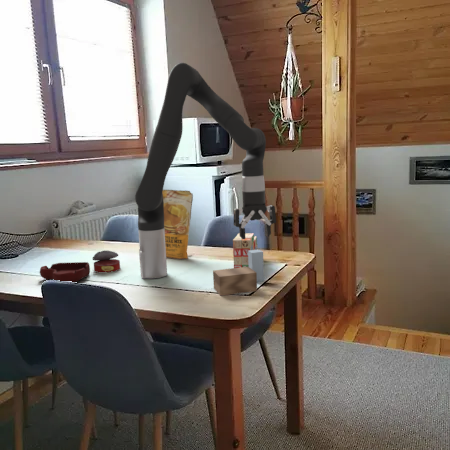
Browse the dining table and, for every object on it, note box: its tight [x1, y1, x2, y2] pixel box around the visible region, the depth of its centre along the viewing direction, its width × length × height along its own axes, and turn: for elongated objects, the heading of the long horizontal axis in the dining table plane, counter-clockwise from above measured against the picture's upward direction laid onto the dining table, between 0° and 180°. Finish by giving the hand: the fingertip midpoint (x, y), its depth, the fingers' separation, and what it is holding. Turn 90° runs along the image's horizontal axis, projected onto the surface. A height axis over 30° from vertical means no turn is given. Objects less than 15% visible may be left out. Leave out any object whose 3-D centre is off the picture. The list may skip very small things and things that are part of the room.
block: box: [248, 249, 265, 282], centre depth 166 cm, size 4×4×10 cm
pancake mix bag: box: [162, 189, 194, 260], centre depth 204 cm, size 7×19×28 cm, turn 56°
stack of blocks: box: [232, 232, 258, 268], centre depth 186 cm, size 21×6×12 cm, turn 169°
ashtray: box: [39, 261, 91, 283], centre depth 177 cm, size 18×16×5 cm
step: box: [212, 267, 258, 296], centre depth 157 cm, size 12×8×6 cm, turn 106°
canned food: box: [92, 250, 121, 273], centre depth 189 cm, size 11×10×10 cm
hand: (255, 237), depth 165 cm, fingers open, 8 cm apart
